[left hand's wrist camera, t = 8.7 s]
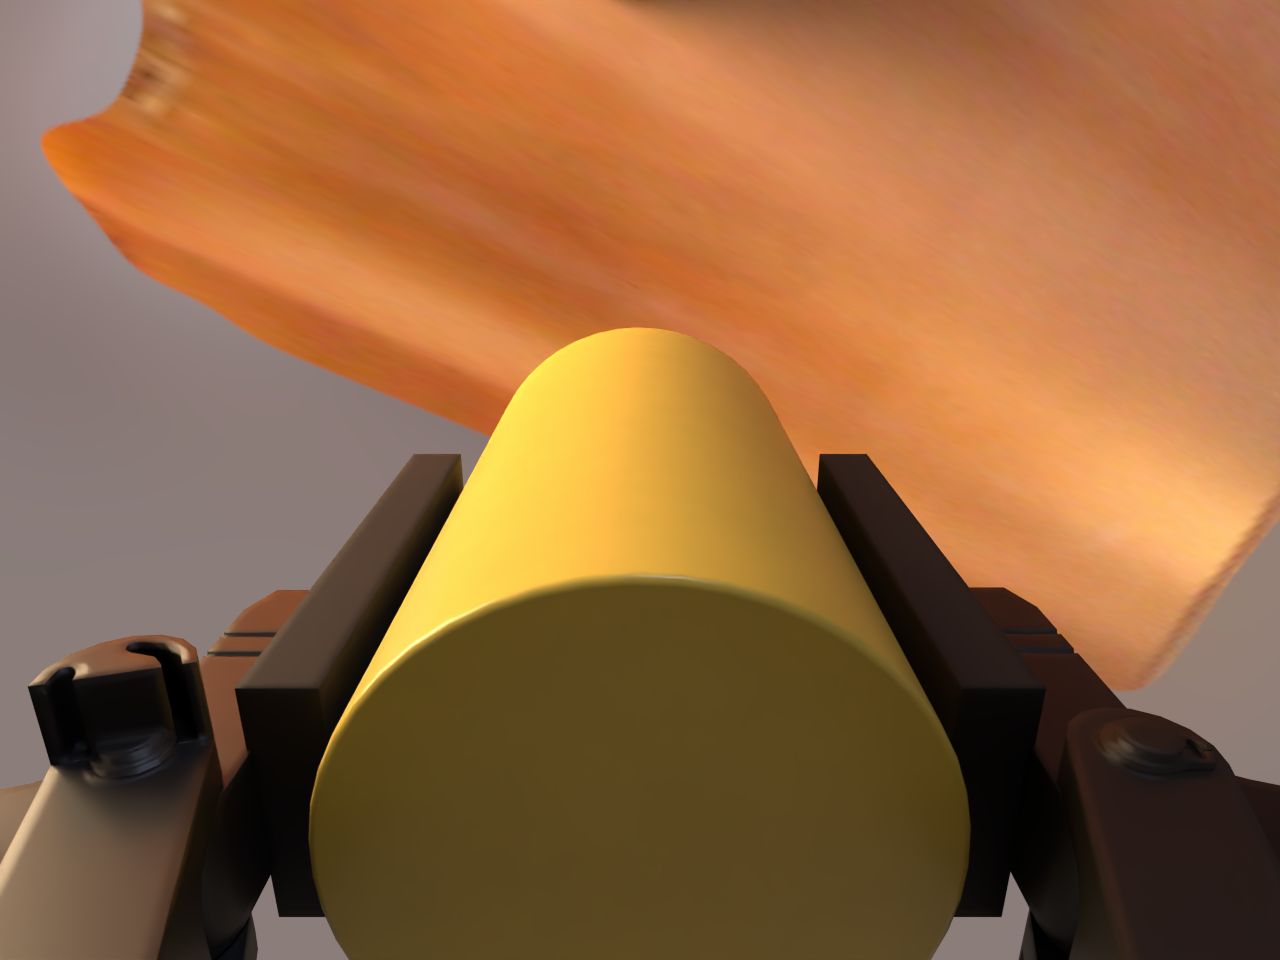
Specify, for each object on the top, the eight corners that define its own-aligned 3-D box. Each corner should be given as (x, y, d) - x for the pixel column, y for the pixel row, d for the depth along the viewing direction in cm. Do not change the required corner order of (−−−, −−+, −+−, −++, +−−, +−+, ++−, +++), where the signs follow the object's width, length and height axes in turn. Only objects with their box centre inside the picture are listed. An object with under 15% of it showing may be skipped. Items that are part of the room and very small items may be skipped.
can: (594, 644, 18) (546, 1170, 9) (436, 424, 17) (161, 783, 7) (834, 516, 17) (1074, 956, 8) (692, 268, 16) (776, 440, 6)
